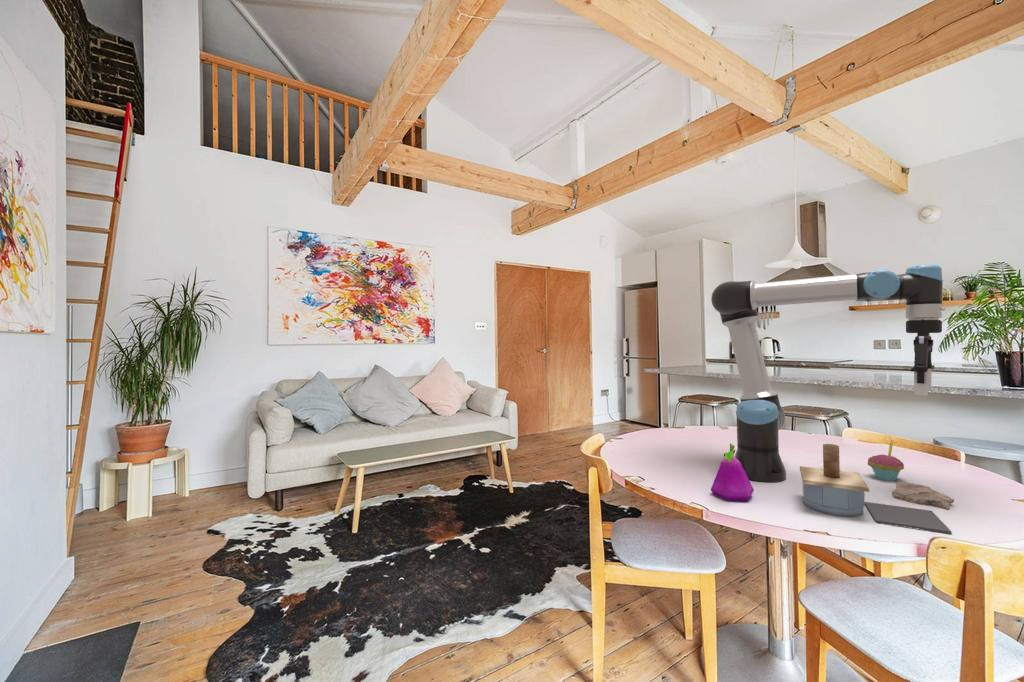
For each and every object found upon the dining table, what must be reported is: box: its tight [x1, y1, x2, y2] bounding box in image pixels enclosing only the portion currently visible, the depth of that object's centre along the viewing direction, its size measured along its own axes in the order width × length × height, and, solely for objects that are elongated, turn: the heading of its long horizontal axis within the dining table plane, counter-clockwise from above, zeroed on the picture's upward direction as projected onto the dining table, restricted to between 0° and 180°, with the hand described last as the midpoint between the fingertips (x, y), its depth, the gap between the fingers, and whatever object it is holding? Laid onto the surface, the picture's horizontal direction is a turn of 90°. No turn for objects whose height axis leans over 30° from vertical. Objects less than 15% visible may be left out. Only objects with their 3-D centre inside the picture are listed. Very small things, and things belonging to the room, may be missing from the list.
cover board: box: [799, 443, 870, 493], centre depth 111 cm, size 13×13×9 cm
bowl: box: [801, 479, 866, 518], centre depth 111 cm, size 12×12×7 cm
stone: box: [891, 481, 955, 510], centre depth 115 cm, size 12×12×3 cm
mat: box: [864, 501, 953, 535], centre depth 103 cm, size 13×13×1 cm
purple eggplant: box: [710, 443, 755, 502], centre depth 120 cm, size 11×11×15 cm
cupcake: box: [867, 440, 905, 482], centre depth 131 cm, size 9×8×12 cm
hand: (922, 392), depth 123 cm, fingers open, 13 cm apart
